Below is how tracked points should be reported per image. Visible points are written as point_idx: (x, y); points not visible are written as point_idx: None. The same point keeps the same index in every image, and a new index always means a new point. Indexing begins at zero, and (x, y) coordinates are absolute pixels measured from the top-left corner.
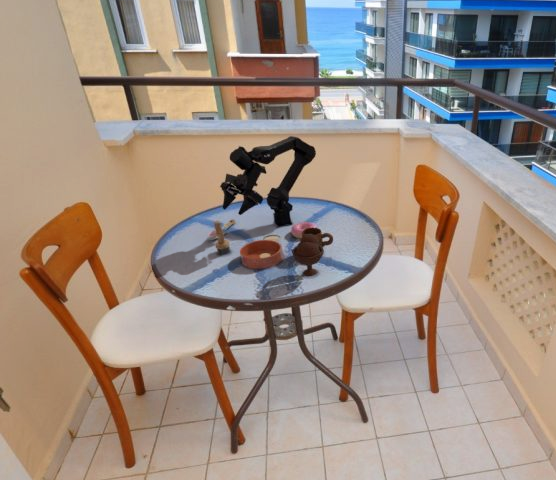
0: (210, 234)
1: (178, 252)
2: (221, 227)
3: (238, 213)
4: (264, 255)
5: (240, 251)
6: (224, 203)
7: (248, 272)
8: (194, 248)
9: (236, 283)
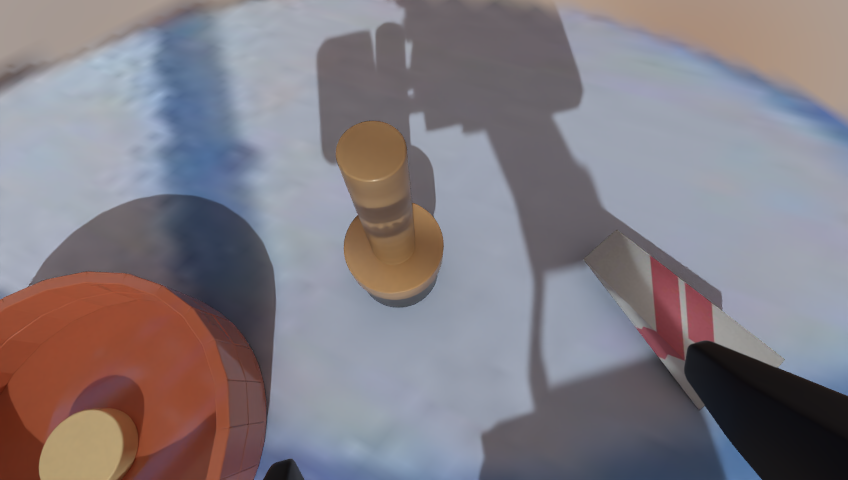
0: (672, 274)
1: (573, 88)
2: None
3: (282, 462)
4: (85, 452)
5: (159, 290)
6: (781, 396)
7: None
8: (574, 161)
9: (41, 185)
